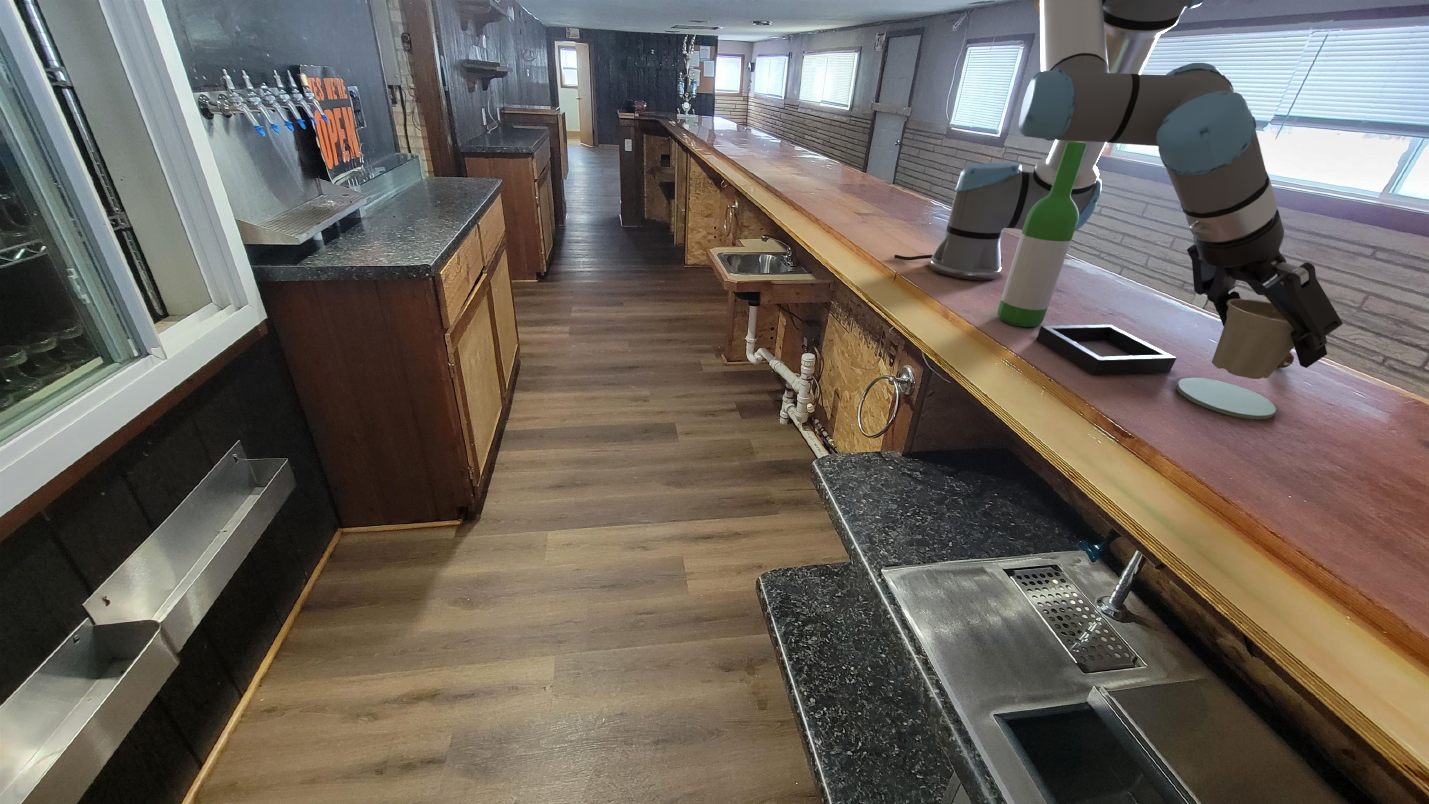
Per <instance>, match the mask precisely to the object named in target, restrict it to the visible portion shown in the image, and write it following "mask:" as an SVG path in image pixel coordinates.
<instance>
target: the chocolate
mask: <svg viewBox="0 0 1429 804" xmlns="http://www.w3.org/2000/svg"><path fill="white" fill-rule="evenodd" d="M1294 357H1295V356H1294V354H1292V352H1291V351H1290V352H1289V353H1288V355H1287V356H1286V357H1285V358H1284V359H1283V360H1282V362H1281V363H1280V364H1279V365H1278V366H1277V368H1279V369H1285V368H1288V367H1290V366H1291V365H1293V363H1294V361H1295V358H1294Z"/></svg>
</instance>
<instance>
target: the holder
mask: <svg viewBox="0 0 1429 804" xmlns="http://www.w3.org/2000/svg"><path fill="white" fill-rule="evenodd" d="M1037 333H1038V334H1037V336H1036V339H1035V340H1036V341H1038V342H1039V343H1041V344H1043V345H1044V346H1046V347H1047V348H1049V349H1050V350H1053V351H1054V352H1055V353H1057V354H1059V355H1060V356H1062V357H1064V358H1065V359H1067V360H1068V361H1070V362H1071V363H1073V364H1075V365H1076V366H1077V367H1079V368H1081V369H1083V370H1084V371H1086V372H1088V373H1089V374H1091V375H1092V376H1106V375H1129V374H1130V375H1131V374H1159V373H1161V374H1162V373H1170V372H1171V371H1172V368H1173V366H1174V364H1175V363H1176V360H1177V357H1176V356H1174V355H1172V354H1170V353H1169V352H1166V351H1164V350H1163V349H1161V348H1158V347H1156V346H1154V345H1152V344H1150V343H1149V342H1146V341H1145V340H1142V339H1141V338H1139V337H1136V336H1134V335H1132V334H1130V333H1129V332H1126V331H1125V330H1123V329H1121V328H1118V327H1117V326H1115V325H1113V324H1071V325H1070V324H1067V325H1066V324H1065V325H1041V326H1040V328H1039V331H1038V332H1037ZM1092 341H1093V342H1097V341H1098V342H1101V341H1102V342H1103V341H1104V342H1106V343H1108V344H1110V345H1111V346H1113V347H1115V348H1118V349H1119V350H1120V351H1123V352H1125V353H1126V354H1128V355H1115V356H1111V355H1110V356H1100V355H1099V354H1097V353H1095V352H1093V351H1091V350H1089V349H1088V348H1086V347H1085V346H1083V345H1081V344H1079V343H1077V342H1092Z"/></svg>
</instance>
